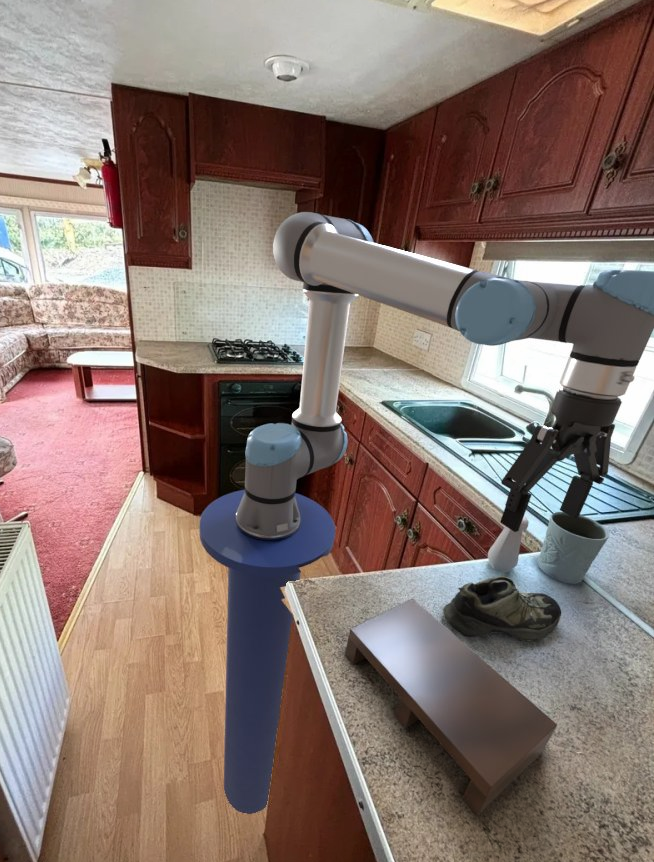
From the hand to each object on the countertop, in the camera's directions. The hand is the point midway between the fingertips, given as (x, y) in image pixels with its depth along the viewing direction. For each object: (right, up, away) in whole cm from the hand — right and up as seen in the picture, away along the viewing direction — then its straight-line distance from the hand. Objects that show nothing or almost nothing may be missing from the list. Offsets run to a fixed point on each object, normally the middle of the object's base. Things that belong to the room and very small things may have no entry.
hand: (539, 520), depth 65 cm
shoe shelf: (-19, -25, -6) cm, 32 cm away
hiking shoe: (-2, -20, +9) cm, 22 cm away
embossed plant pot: (+19, -15, +24) cm, 34 cm away
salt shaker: (+6, -14, +23) cm, 28 cm away
